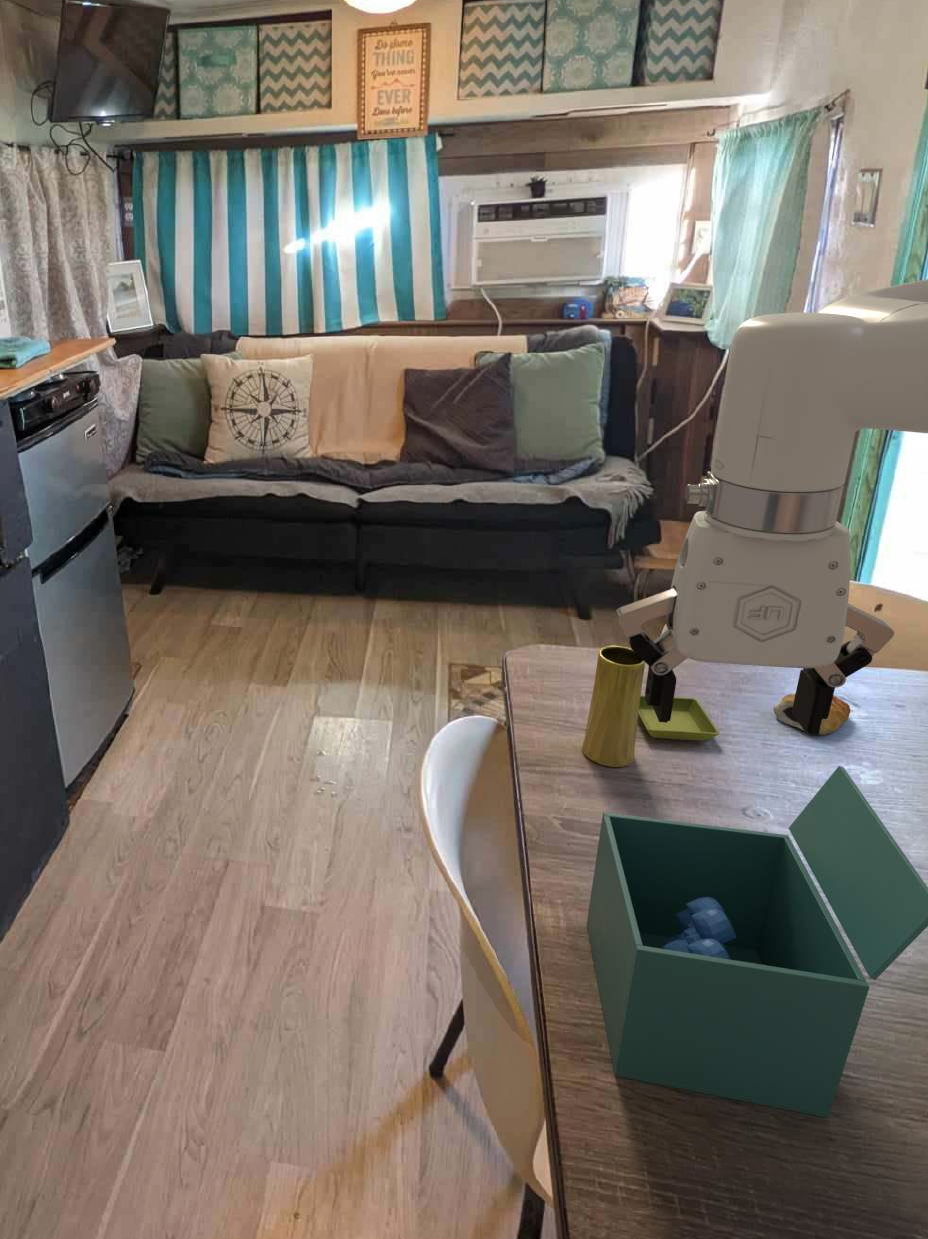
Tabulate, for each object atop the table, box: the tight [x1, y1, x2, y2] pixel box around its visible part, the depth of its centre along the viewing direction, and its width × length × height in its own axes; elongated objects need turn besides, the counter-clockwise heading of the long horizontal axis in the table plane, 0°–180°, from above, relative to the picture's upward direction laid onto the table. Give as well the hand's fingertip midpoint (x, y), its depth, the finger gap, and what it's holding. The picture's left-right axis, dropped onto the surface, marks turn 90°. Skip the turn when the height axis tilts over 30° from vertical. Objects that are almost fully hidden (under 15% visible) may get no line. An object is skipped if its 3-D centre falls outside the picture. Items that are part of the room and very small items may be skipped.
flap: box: [788, 765, 928, 981], centre depth 64 cm, size 7×16×1 cm
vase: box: [581, 645, 646, 768], centre depth 105 cm, size 6×6×14 cm
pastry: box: [772, 692, 851, 736], centre depth 111 cm, size 9×7×4 cm
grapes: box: [662, 897, 736, 960], centre depth 69 cm, size 12×7×12 cm, turn 144°
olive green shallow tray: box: [638, 694, 720, 742], centre depth 112 cm, size 9×9×2 cm
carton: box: [586, 812, 870, 1119], centre depth 70 cm, size 15×16×14 cm
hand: (730, 718), depth 63 cm, fingers open, 9 cm apart
